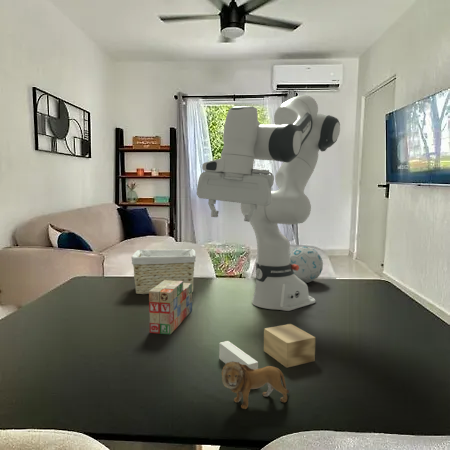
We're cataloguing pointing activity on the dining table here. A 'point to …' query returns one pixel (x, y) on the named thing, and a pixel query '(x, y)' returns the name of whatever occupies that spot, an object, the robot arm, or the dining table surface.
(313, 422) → the dining table surface
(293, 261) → the puzzle ball
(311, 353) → the oak block
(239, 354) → the fence board
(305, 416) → the dining table surface
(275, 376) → the lion figurine
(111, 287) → the dining table surface
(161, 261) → the storage basket
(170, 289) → the stack of blocks
